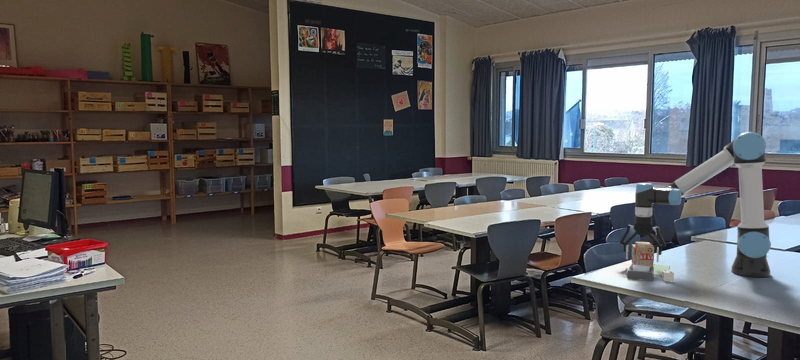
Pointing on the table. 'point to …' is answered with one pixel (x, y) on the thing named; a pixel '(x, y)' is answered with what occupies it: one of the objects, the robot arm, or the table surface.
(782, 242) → the table surface
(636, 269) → the white rounded block
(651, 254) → the printed cardboard box
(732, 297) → the table surface
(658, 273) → the square one pad
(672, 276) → the die
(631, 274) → the box
